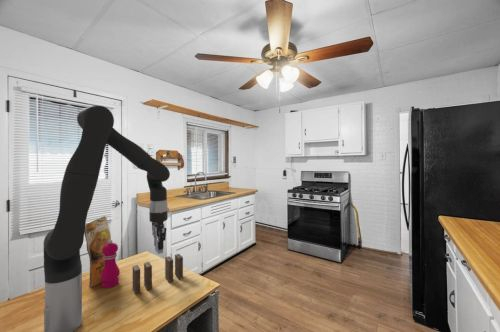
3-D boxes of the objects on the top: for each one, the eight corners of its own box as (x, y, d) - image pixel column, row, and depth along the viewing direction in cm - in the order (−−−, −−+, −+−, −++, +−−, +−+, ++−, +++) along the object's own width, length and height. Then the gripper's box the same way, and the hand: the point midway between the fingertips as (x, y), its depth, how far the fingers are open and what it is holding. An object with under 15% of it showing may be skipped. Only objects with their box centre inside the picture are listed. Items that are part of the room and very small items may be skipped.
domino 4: (168, 283, 98) (168, 261, 98) (165, 278, 102) (165, 257, 102) (173, 281, 99) (173, 259, 99) (169, 277, 103) (169, 256, 103)
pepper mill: (118, 286, 95) (117, 241, 95) (98, 290, 92) (98, 243, 92) (121, 278, 102) (120, 236, 101) (103, 281, 99) (102, 238, 99)
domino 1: (135, 294, 89) (134, 270, 89) (132, 289, 93) (132, 266, 93) (140, 292, 90) (140, 269, 90) (137, 287, 94) (137, 264, 94)
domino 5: (178, 279, 101) (178, 258, 101) (174, 275, 105) (174, 254, 104) (182, 278, 102) (182, 257, 102) (179, 273, 106) (178, 253, 106)
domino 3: (158, 253, 95) (158, 231, 95) (155, 250, 99) (155, 228, 99) (163, 252, 96) (162, 230, 96) (159, 249, 100) (159, 227, 100)
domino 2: (147, 290, 92) (146, 267, 92) (144, 285, 96) (144, 263, 96) (151, 288, 93) (151, 265, 93) (148, 283, 97) (148, 261, 97)
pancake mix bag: (78, 290, 92) (77, 225, 92) (105, 268, 111) (105, 214, 111) (94, 289, 93) (93, 224, 92) (119, 268, 112) (118, 214, 111)
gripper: (145, 208, 100) (145, 244, 101) (154, 214, 89) (154, 255, 89) (162, 206, 105) (162, 241, 105) (172, 211, 94) (172, 250, 94)
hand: (158, 247), depth 97 cm, fingers closed on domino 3, 5 cm apart
